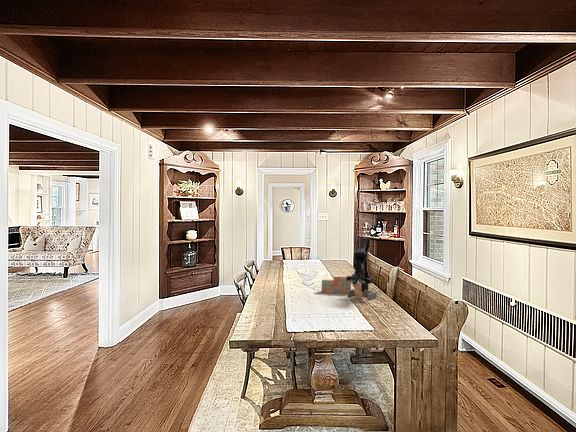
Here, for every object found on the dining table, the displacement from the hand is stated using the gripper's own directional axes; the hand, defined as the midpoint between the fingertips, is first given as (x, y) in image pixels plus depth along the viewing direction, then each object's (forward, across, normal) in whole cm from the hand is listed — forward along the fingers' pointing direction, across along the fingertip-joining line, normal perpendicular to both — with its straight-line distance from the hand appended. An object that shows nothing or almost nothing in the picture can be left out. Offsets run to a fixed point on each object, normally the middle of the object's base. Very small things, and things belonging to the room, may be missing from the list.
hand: (359, 291), depth 319 cm
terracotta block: (+2, 0, 0) cm, 2 cm away
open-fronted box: (+4, 0, +3) cm, 5 cm away
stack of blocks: (+4, -24, +6) cm, 25 cm away
